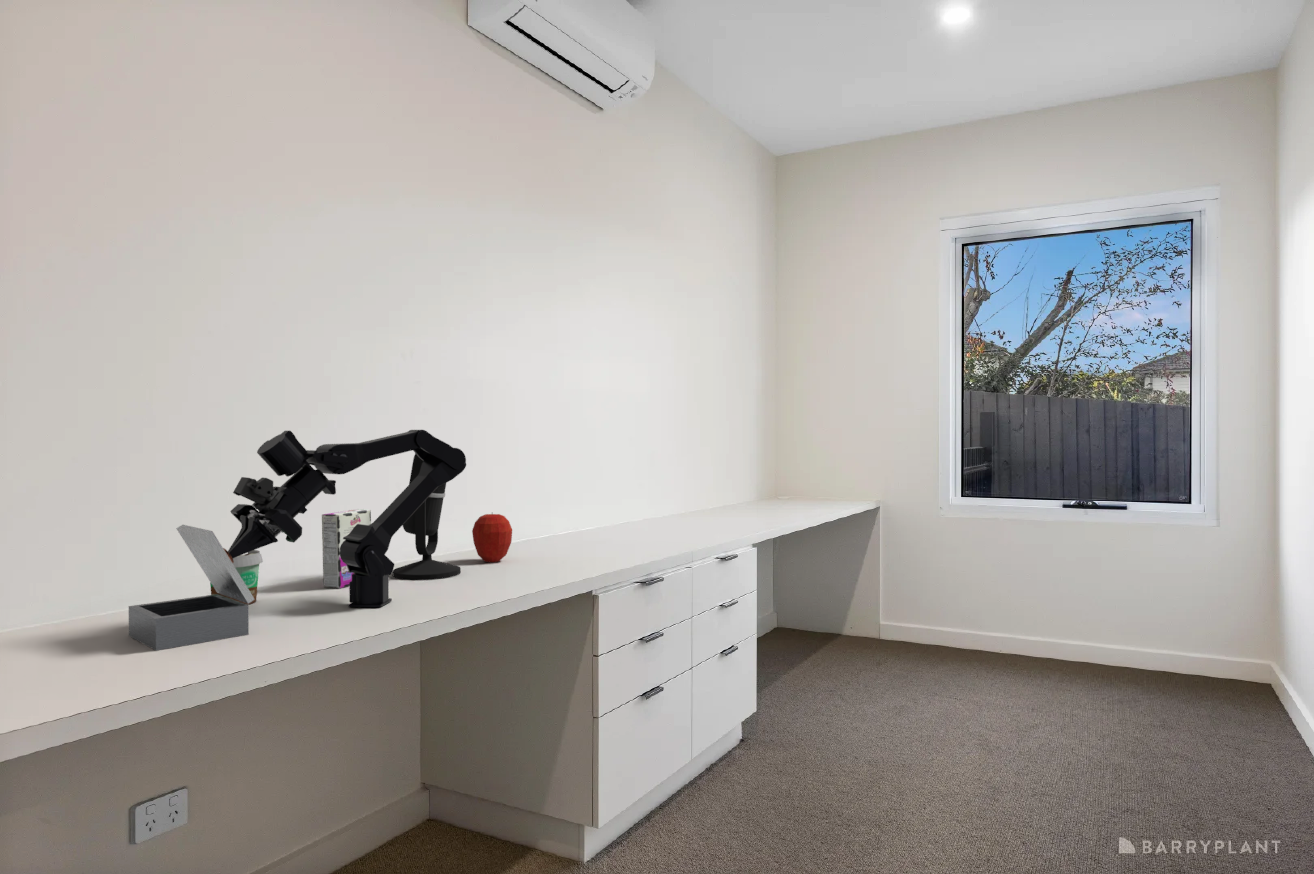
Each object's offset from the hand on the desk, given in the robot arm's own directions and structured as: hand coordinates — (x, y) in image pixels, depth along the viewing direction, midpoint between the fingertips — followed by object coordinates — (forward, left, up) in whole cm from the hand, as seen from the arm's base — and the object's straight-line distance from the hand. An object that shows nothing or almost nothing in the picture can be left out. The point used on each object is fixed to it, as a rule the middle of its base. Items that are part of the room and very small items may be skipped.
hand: (228, 556), depth 144 cm
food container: (+9, -20, -13) cm, 26 cm away
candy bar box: (-3, -42, -13) cm, 44 cm away
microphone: (-17, -55, -13) cm, 59 cm away
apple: (-28, -75, -13) cm, 81 cm away
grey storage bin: (+4, +5, -13) cm, 14 cm away
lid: (+2, +2, -1) cm, 3 cm away
